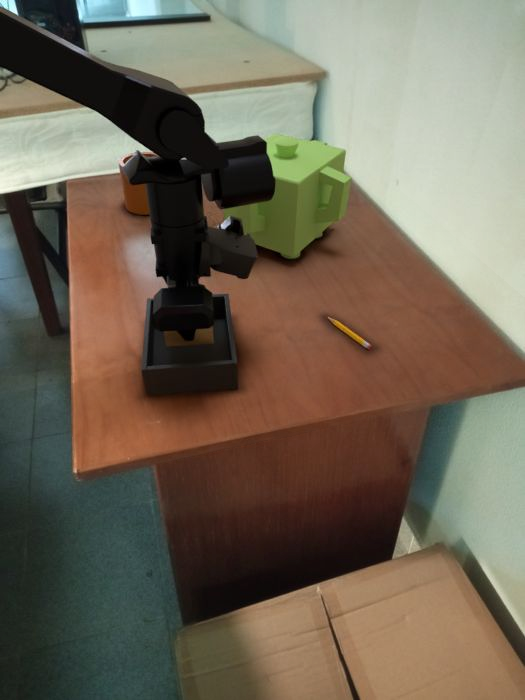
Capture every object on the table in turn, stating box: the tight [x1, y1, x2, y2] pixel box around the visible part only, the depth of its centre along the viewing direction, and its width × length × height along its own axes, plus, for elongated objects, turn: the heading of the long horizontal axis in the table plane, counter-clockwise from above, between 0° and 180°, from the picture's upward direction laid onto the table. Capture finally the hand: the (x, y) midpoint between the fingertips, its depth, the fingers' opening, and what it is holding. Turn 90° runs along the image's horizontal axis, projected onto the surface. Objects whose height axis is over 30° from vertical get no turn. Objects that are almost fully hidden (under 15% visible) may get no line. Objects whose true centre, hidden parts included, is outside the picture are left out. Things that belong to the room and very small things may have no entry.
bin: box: [141, 293, 239, 397], centre depth 65 cm, size 11×14×4 cm
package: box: [164, 326, 214, 347], centre depth 62 cm, size 6×4×5 cm
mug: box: [117, 151, 158, 216], centre depth 96 cm, size 9×12×9 cm
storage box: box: [223, 132, 353, 260], centre depth 84 cm, size 25×23×17 cm
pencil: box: [327, 316, 373, 351], centre depth 70 cm, size 1×9×1 cm, turn 37°
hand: (189, 328), depth 63 cm, fingers closed on package, 4 cm apart
